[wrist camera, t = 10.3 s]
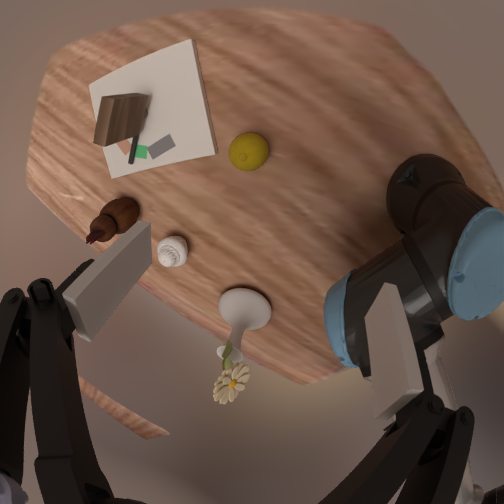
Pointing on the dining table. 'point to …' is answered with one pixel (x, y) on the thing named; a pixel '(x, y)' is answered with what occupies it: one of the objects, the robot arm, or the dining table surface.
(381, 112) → the dining table surface
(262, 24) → the dining table surface
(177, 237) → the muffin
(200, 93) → the dial board
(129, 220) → the wooden figurine
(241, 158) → the lemon
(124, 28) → the dining table surface
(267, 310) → the flower in vase
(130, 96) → the dark wooden block
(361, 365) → the robot arm
